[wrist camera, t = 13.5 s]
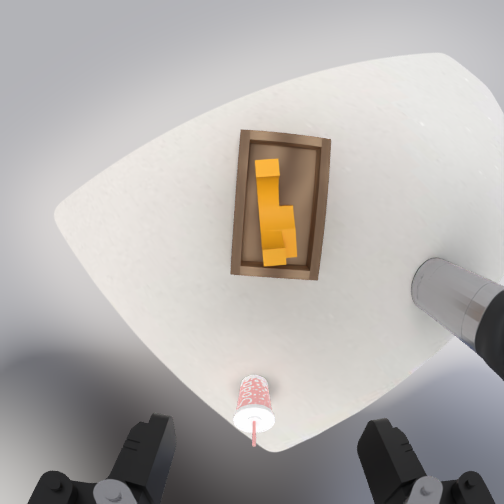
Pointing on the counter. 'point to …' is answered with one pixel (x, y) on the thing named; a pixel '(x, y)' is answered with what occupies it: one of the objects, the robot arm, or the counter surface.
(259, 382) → the beverage cup
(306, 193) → the wooden tray
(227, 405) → the counter surface
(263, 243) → the pipe clamp
